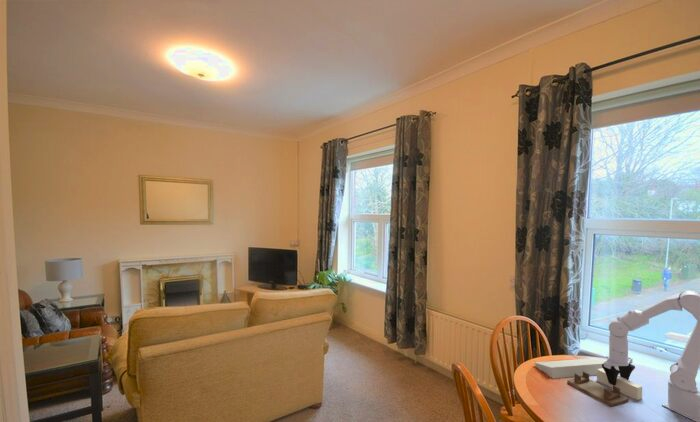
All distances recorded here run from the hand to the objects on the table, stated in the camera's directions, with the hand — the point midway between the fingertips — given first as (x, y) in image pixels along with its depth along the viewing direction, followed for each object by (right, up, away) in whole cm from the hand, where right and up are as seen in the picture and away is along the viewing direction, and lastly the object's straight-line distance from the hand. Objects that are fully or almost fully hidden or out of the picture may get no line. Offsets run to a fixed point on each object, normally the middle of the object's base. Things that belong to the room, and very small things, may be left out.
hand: (618, 382), depth 120 cm
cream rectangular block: (0, -3, 0) cm, 3 cm away
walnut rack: (-11, -3, -2) cm, 11 cm away
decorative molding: (-6, -3, +15) cm, 16 cm away
